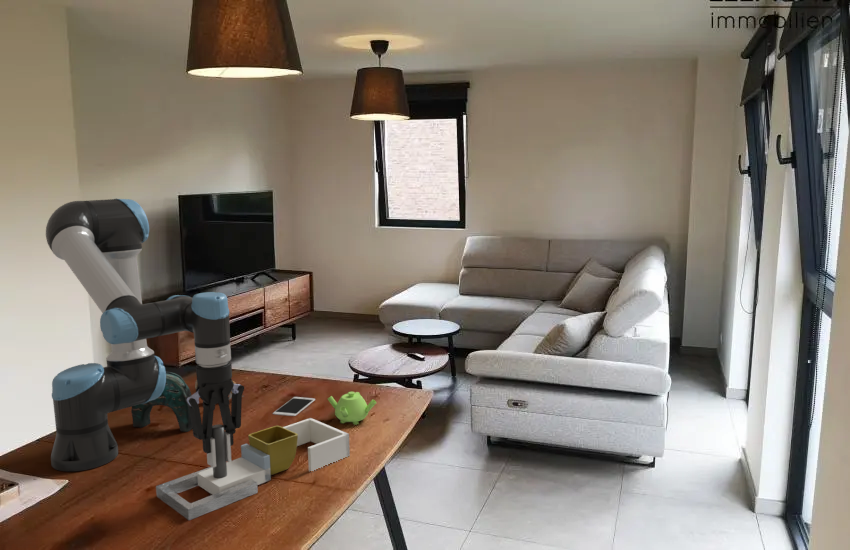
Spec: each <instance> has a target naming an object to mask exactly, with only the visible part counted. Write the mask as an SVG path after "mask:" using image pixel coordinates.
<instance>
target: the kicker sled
mask: <svg viewBox="0 0 850 550" xmlns="http://www.w3.org/2000/svg"><path fill="white" fill-rule="evenodd" d="M211 437H212V438H214V439H215V451H216V467H213V468H210V469H207V470H204V471H201V472H199V473H197V477H198V486H197V487H200V488H202V490H203V489H204V490H205V491H206V492H207V493H209V494H210V495H214V494H216V493H219V492H221V491H224V490H226V489H229V488H232V487H234V486H237V485H239V484H242V483H245V482H247V481H250V480H254V481H256V482H257V486H258V485H262V484H264V483H266V482H269V481H271V480H272V479H271V478H272V475H271V473H270V456H269V455H268V454H266V453H264V452H262V451H260V450H258V449H256V448H254V447H252V446H250V444H248V443H244V444H241V445H240V453H241V455H240V456H241V457H238V458H236V459H233V460H232V459H231V462H227V461H226V447H225V430H224V425H223V424H221V423H220V424H212V436H211Z"/></svg>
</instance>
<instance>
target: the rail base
mask: <svg viewBox="0 0 850 550" xmlns="http://www.w3.org/2000/svg"><path fill="white" fill-rule="evenodd" d="M210 468H213V467H212V466H208V467H206V468H204V469H201V470H197V471H196V472H195V471H194V472H192V473H189V474H186V475H183V476H179V477H177V478H176V479H172V480H169V481H167V482H164V483H163V482H162V483H161V484H157V485H156V486H155V493H156V497H157V498H158V499H159V500H160V501H162V502H163V503H165V504H166V505H168V507H170V508H171V509H172V510H174V511H175V512H177V513H178V514H180V515H181V516H182V517H184V519H186V520H188V521H191V520H193V519H196V518H198V517H201V516H203V515H206V514H208V513H211V512H213V511H216V510H219V509H221V508H224V507H226V506H228V505H231V504H234V503H235V502H237V501H238V502H239V501H241V500H242V499H243V500H244V499H246V498H248V497H250V496H251V497H252V496H253V495H256V494H258V491H259V489H258V485H257V482H256V481H254V480H250V481H247V482H245V483H242V484H239V485H237V486H234V487H232V488H229V489H226V490H224V491H221V492H219V493H216V494H214V495H212V494H210V495H208V496H206V497H204V498H201V499H198V500H196V501H193V502H189V501H188V500H186V499H185V498H183V497H182V496H180V495H179V493H182V492H186V491H189V490H190V489H193V488H195V487H199V486H198V477H197V473H199V472H201V471H204V470H207V469H210Z"/></svg>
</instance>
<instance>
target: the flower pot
mask: <svg viewBox="0 0 850 550" xmlns="http://www.w3.org/2000/svg"><path fill="white" fill-rule="evenodd" d="M283 427H284V426H281V425H274V426H271V427H267V428H264V429H261V430H258V431H256V432H251V433H249V434H248V435H247V436H248V442H249V445H250V446H252V447H254V448H256V449H258V450H260V451H262V452H264V453H266V454H268V455H269V456H270V473H271V476H272V475H275V474H278V473H280V472H283V471H284V472H285V471H286V470H288V469H289V468H291V465H292V464H293V463H294V460H295V458H296V454H297V448H298V446H297V439H298V434H297V433H294V432H292V431H290V430H287V429H285V428H283Z"/></svg>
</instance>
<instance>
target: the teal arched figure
mask: <svg viewBox="0 0 850 550" xmlns="http://www.w3.org/2000/svg"><path fill="white" fill-rule="evenodd" d="M192 395H193V394H192V393H191V389H190V387H189V386H188V384H187V383H186V382H185V380H184V379H183V378H182V376H181V375H179V374H177V373H175V372H171V371H166V384H165V388H164V391H163V392H162V394H161V395H160V396H159V397H158V398H157V399H155V400H152V401H149V402H147V403H145V404H139V405H135V406H131V411H130V412H131V416H132V417H131V418H132V427H133V428H139V429H140V428H144V427H147V426H148V425H150V424H151V412H152V410H153V407H154V406H155V407H156V406H164V407H168V408H170V409H171V410H172V411H173V413H174V415H175V417H176V420H177V423H178V427H179V430H180V432H184V433H185V432H186V433H187V432H190V431H191V430H193V429H192V423H191V417H190V410H189V406H188V404H187V402H186V401H185V398H186V397H187V396H192Z"/></svg>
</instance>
